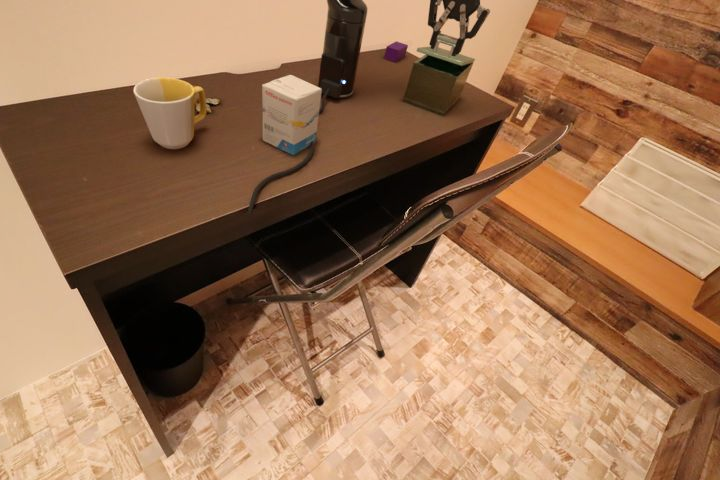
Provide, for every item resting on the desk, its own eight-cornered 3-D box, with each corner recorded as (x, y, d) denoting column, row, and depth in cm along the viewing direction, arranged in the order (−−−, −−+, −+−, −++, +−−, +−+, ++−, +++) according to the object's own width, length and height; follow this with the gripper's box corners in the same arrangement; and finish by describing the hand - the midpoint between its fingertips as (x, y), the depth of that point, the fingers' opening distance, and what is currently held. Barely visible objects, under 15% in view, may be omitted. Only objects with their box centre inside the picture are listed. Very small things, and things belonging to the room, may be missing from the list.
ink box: (316, 142, 79) (323, 87, 71) (292, 156, 74) (296, 99, 66) (286, 127, 82) (289, 72, 74) (261, 140, 77) (261, 83, 69)
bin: (442, 115, 96) (457, 76, 89) (402, 100, 100) (413, 62, 92) (458, 99, 106) (473, 62, 98) (421, 85, 109) (433, 49, 102)
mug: (162, 161, 68) (150, 106, 60) (137, 137, 72) (122, 83, 64) (225, 142, 75) (221, 90, 67) (199, 121, 79) (192, 70, 72)
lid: (461, 65, 87) (470, 43, 84) (416, 51, 90) (423, 28, 87) (473, 62, 98) (482, 42, 95) (433, 49, 101) (440, 29, 98)
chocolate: (395, 62, 120) (398, 50, 117) (383, 58, 121) (386, 46, 118) (404, 56, 125) (408, 45, 122) (393, 52, 126) (396, 41, 123)
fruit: (206, 116, 81) (205, 99, 78) (171, 108, 82) (168, 91, 79) (221, 101, 87) (220, 85, 84) (189, 93, 87) (186, 77, 84)
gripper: (437, -44, 77) (411, 46, 89) (503, -27, 73) (466, 64, 85) (447, -45, 82) (422, 40, 94) (510, -29, 78) (475, 57, 90)
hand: (443, 51), depth 89 cm, fingers closed on lid, 5 cm apart
